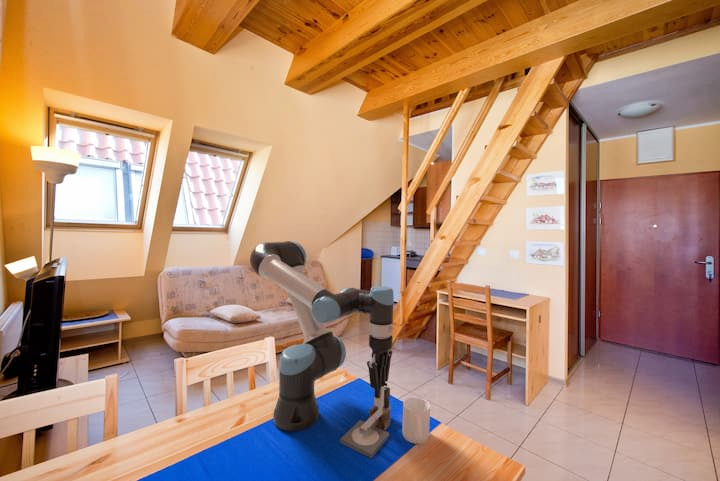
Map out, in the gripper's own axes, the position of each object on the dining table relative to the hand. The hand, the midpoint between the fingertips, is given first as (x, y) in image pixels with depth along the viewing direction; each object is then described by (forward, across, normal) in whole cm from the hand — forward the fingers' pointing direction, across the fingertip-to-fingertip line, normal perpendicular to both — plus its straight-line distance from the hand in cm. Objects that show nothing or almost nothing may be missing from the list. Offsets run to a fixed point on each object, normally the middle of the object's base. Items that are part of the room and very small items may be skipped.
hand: (378, 405), depth 103 cm
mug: (+7, +1, -13) cm, 15 cm away
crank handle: (+5, -1, 0) cm, 5 cm away
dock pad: (+7, -8, 0) cm, 11 cm away
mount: (+7, +1, 0) cm, 7 cm away
